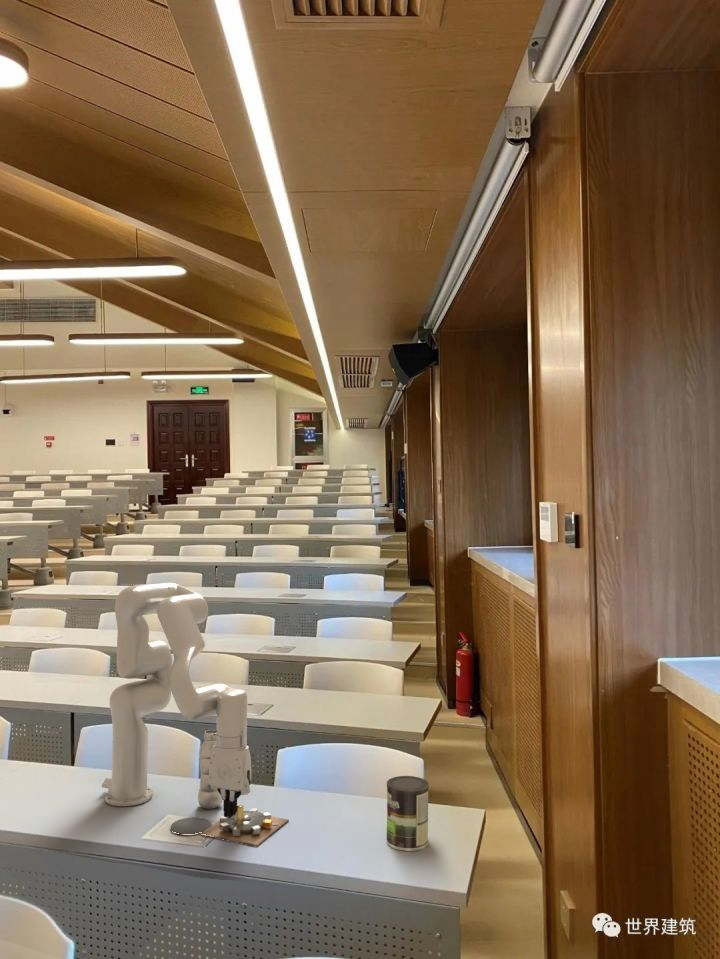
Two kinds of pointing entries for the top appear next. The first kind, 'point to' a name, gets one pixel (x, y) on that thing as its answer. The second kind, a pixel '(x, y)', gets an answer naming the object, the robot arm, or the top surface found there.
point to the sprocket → (245, 822)
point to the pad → (190, 825)
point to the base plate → (248, 837)
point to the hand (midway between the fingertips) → (230, 815)
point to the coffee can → (407, 813)
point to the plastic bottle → (207, 774)
